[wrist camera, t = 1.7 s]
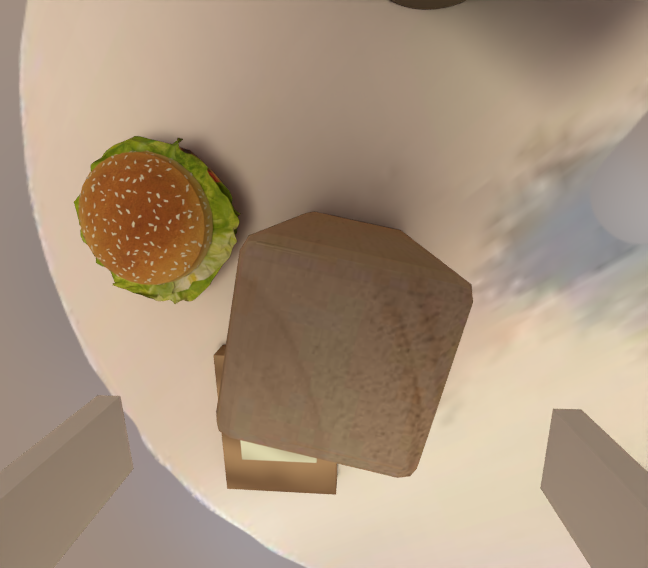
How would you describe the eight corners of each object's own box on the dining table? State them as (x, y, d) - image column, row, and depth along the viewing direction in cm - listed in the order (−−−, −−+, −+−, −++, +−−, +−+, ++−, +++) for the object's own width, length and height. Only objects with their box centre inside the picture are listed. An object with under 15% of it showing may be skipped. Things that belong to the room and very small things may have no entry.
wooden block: (286, 307, 35) (205, 441, 16) (305, 208, 33) (235, 229, 14) (383, 329, 35) (418, 492, 16) (409, 231, 33) (489, 285, 13)
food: (172, 313, 37) (124, 344, 29) (85, 197, 34) (8, 197, 27) (278, 244, 34) (256, 259, 26) (192, 113, 32) (141, 87, 24)
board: (222, 344, 37) (213, 355, 35) (335, 347, 36) (334, 358, 34) (234, 471, 41) (226, 489, 39) (337, 476, 40) (335, 495, 38)
